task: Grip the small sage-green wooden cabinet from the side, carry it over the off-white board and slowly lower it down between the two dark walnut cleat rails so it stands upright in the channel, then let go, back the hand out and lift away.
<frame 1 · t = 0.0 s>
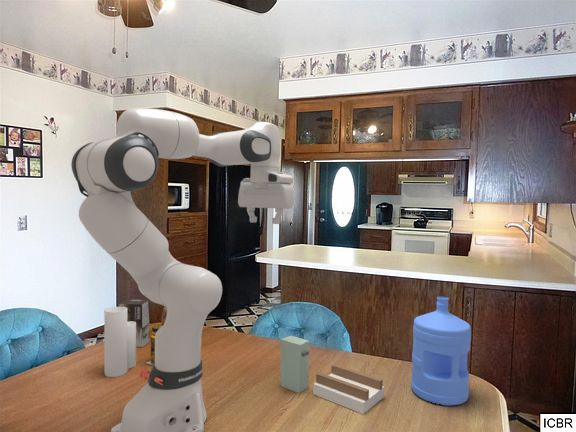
hand: (264, 223, 122), 48 cm above the table, tool pointing down, fingers open, 8 cm apart
sage cabinet: (294, 386, 119), on the table
ceramic jug: (179, 338, 158), on the table
vase: (119, 369, 128), on the table
coffee box: (134, 344, 151), on the table
cleat board: (348, 395, 114), on the table
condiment: (162, 361, 136), on the table
water jug: (439, 393, 117), on the table
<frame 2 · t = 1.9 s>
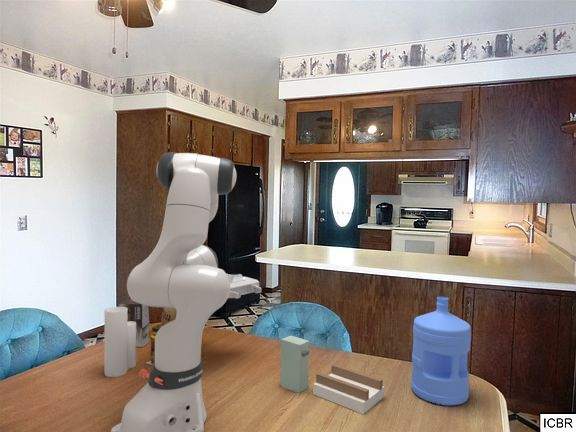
hand: (249, 293, 130), 25 cm above the table, tool horizontal, fingers open, 8 cm apart
nothing on the table moved.
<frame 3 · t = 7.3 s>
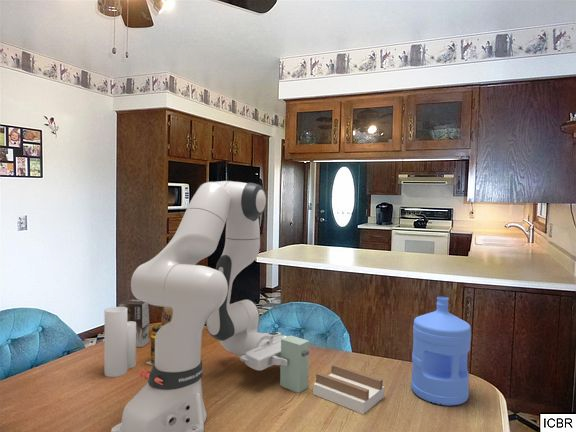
hand: (294, 359, 119), 8 cm above the table, tool horizontal, fingers closed on sage cabinet, 4 cm apart
sage cabinet: (294, 386, 119), on the table, touching gripper
everything else where it was.
when the fingers open (12 cm above the table, at t = 13.1 s): sage cabinet drops 1 cm, resting on cleat board.
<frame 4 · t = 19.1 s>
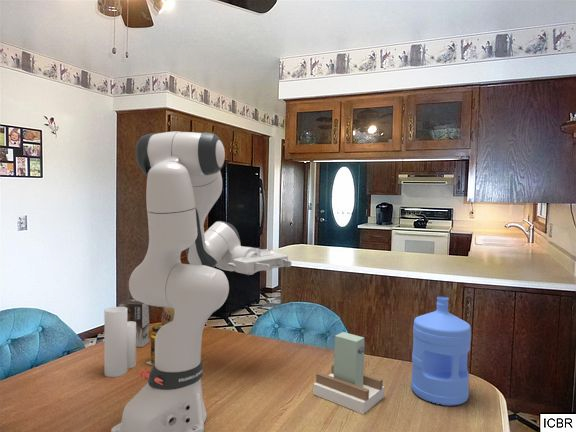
hand: (280, 265, 123), 35 cm above the table, tool horizontal, fingers open, 8 cm apart
sage cabinet: (348, 385, 114), point 3 cm above the table, touching cleat board
everything else where it was.
at the end: sage cabinet inside the target area on the cleat board (0.1 cm from its centre), point 3.0 cm above the cleat board's base; sage cabinet tilted 0°; the gripper is holding nothing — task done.
